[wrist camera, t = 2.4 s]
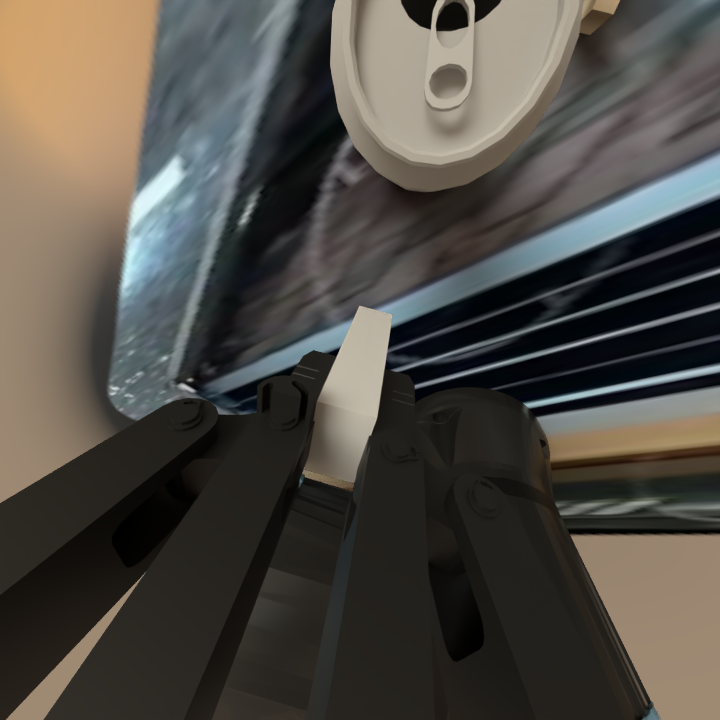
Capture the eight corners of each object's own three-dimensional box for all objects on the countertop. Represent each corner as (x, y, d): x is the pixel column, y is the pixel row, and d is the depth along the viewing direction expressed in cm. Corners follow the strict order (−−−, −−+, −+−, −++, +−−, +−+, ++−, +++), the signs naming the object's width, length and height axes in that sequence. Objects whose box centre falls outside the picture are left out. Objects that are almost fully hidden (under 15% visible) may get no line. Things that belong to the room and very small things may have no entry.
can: (505, 26, 15) (710, -334, 5) (480, 189, 19) (563, 185, 9) (367, 44, 16) (294, -214, 6) (370, 194, 20) (328, 196, 10)
